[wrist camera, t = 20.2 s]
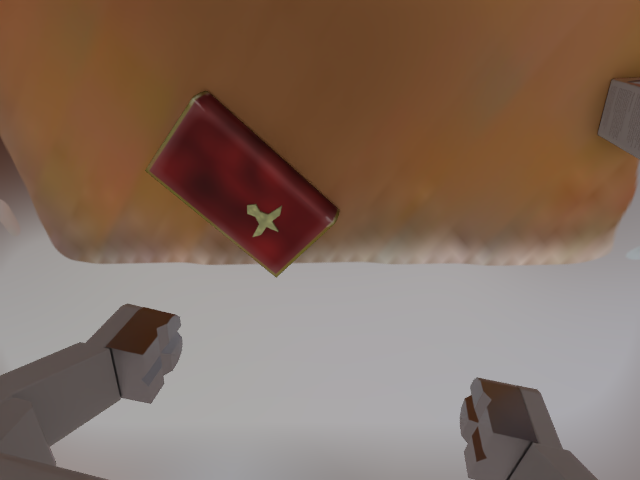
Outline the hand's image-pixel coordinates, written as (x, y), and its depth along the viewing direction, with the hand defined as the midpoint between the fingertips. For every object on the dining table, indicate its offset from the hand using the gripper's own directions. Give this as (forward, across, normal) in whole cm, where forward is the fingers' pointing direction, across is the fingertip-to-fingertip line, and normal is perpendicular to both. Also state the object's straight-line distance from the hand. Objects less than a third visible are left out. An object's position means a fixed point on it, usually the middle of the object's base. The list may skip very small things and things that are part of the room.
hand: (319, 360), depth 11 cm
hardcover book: (+38, +14, +12) cm, 42 cm away
